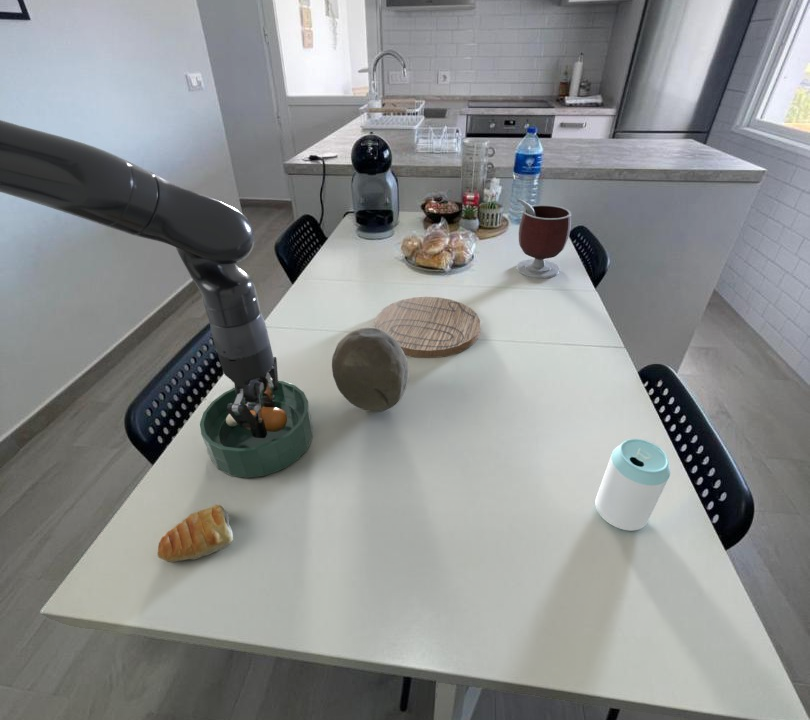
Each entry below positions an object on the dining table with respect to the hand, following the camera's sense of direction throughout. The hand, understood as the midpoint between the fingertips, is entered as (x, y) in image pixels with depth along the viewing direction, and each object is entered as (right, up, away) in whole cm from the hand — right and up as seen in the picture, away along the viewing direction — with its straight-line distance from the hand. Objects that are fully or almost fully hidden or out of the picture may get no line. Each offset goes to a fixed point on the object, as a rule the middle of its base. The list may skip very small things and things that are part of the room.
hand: (265, 426), depth 75 cm
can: (+55, -11, -11) cm, 57 cm away
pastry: (-4, -14, -13) cm, 20 cm away
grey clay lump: (+17, +3, +10) cm, 20 cm away
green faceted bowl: (-1, -3, +2) cm, 4 cm away
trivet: (+29, +19, +32) cm, 47 cm away
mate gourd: (+62, +38, +58) cm, 94 cm away
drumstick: (-1, 0, 0) cm, 1 cm away
